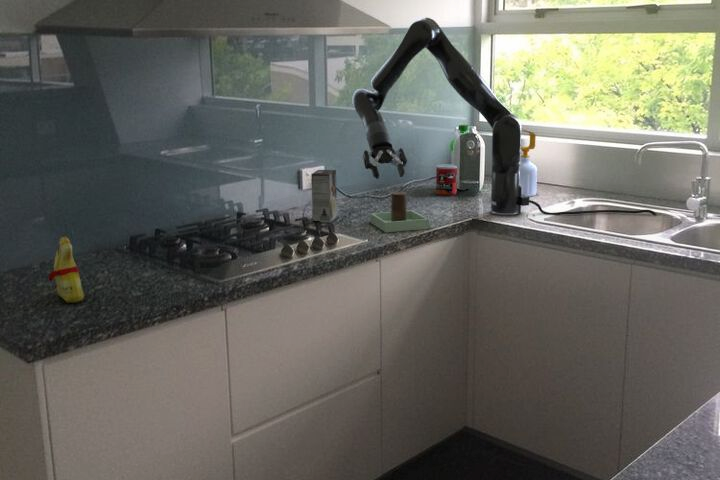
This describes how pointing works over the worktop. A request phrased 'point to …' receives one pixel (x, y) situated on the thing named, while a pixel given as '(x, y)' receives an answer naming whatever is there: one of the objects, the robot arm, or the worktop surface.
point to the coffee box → (324, 195)
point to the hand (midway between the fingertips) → (390, 176)
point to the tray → (399, 222)
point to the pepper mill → (398, 206)
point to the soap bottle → (528, 169)
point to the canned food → (446, 180)
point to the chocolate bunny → (66, 273)
